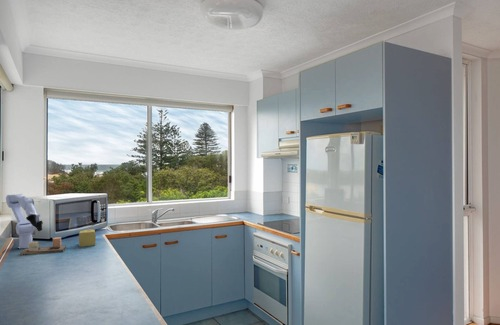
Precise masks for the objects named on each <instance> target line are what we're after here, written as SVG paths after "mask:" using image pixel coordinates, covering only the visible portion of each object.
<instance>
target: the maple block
mask: <svg viewBox="0 0 500 325" xmlns="http://www.w3.org/2000/svg"><path fill="white" fill-rule="evenodd" d="M38 248H39V241H38V240H37V241H32V242H30V243H29V251H38Z"/></svg>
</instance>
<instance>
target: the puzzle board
mask: <svg viewBox="0 0 500 325" xmlns="http://www.w3.org/2000/svg"><path fill="white" fill-rule="evenodd" d="M66 248H67V246H66V245H61V246H54V247H53V246H41V247H38V251H29V248H23V250H22V251H21V252H20V256H25V254H29V255H38V254H40V255H41V254H42V255H43V254H51V253H63V252H64V251H65V249H66ZM23 254H24V255H23Z"/></svg>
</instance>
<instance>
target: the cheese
mask: <svg viewBox="0 0 500 325" xmlns="http://www.w3.org/2000/svg"><path fill="white" fill-rule="evenodd" d="M96 241H97V239H96V231H95V228H94V229H93V228H91V229H90V228H89V229H84V230H80V231H79V233H78V243H79V244H78V245H79V248H81V247H88V246H89V247H90V246H95V245H96V243H97V242H96Z"/></svg>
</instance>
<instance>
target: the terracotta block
mask: <svg viewBox="0 0 500 325" xmlns="http://www.w3.org/2000/svg"><path fill="white" fill-rule="evenodd" d="M54 246H62V236H58V237H53V238H52V247H54Z"/></svg>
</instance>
